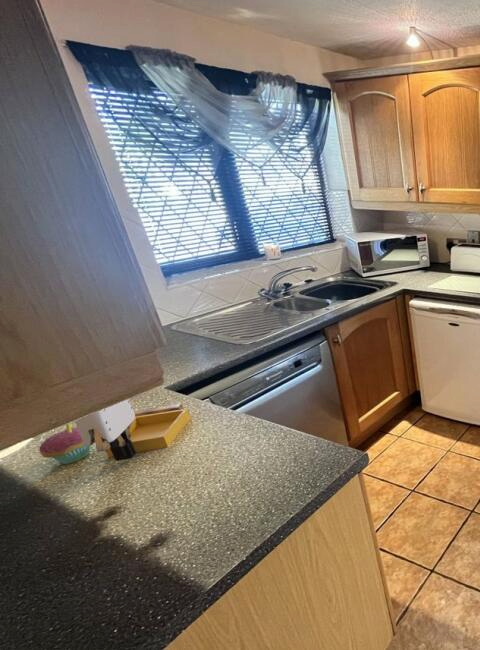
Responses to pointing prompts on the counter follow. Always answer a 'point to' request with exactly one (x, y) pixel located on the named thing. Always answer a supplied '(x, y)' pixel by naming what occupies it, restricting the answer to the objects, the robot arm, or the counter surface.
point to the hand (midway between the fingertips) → (126, 457)
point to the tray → (156, 429)
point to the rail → (158, 410)
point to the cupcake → (65, 446)
